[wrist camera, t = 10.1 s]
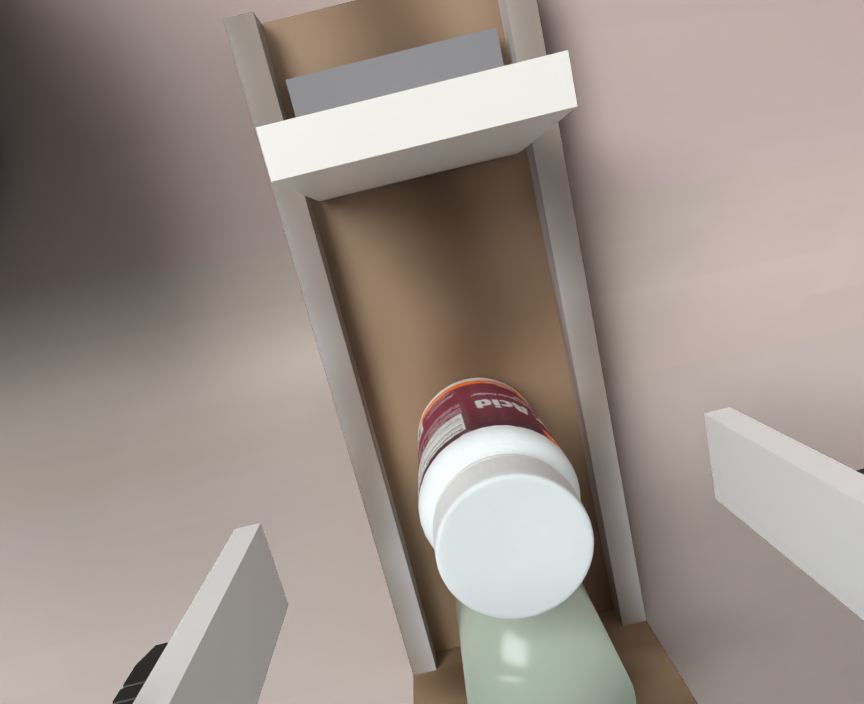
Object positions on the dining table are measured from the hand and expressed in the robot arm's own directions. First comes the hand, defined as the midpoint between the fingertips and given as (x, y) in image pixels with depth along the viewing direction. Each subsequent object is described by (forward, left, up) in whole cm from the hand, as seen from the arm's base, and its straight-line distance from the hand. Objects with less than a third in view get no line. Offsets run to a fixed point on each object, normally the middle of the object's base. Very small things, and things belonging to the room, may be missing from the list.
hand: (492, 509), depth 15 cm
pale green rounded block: (0, -6, -6) cm, 9 cm away
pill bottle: (0, 0, -6) cm, 6 cm away
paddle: (0, +12, -6) cm, 13 cm away
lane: (0, +3, -7) cm, 8 cm away
